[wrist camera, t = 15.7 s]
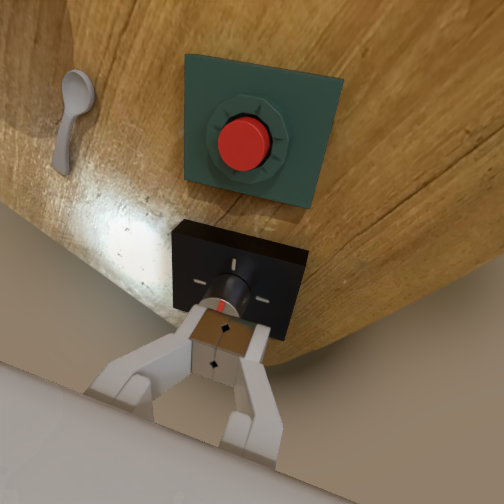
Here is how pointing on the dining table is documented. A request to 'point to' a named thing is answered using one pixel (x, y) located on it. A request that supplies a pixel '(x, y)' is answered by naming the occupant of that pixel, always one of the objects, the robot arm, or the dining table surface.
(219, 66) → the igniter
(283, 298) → the hob panel
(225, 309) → the hob knob
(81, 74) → the spoon
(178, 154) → the dining table surface
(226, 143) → the button
